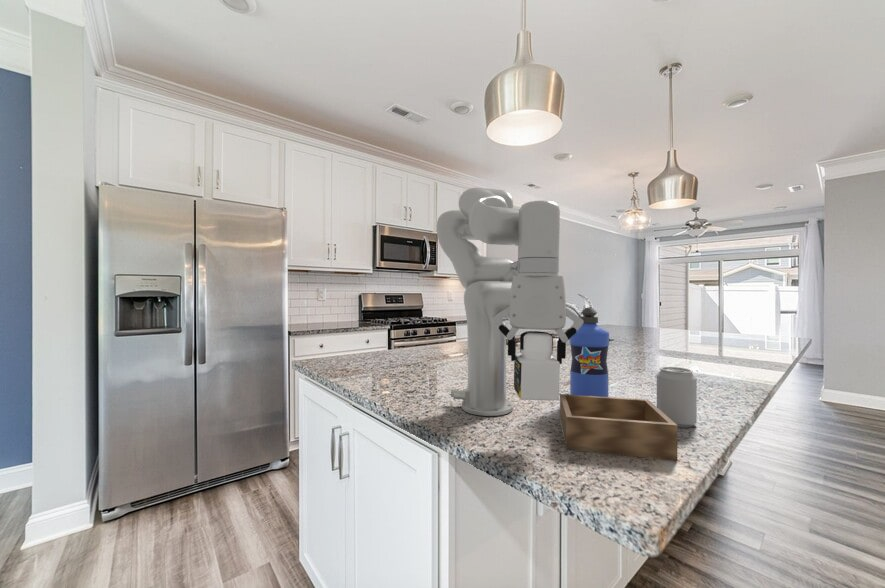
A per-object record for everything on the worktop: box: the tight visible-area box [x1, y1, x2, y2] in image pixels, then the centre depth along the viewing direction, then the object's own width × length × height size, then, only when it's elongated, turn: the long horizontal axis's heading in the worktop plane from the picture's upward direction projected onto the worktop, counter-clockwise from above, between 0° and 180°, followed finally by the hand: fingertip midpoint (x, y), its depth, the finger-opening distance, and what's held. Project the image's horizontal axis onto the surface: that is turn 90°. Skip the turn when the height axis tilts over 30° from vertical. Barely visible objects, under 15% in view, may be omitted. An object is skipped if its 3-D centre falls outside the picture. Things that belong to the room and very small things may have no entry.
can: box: [656, 366, 698, 428], centre depth 82 cm, size 8×8×12 cm
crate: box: [559, 393, 678, 461], centre depth 73 cm, size 18×16×6 cm
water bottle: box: [569, 307, 610, 397], centre depth 93 cm, size 9×9×25 cm
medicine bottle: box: [513, 330, 561, 401], centre depth 70 cm, size 7×7×12 cm
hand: (536, 360), depth 70 cm, fingers closed on medicine bottle, 8 cm apart
